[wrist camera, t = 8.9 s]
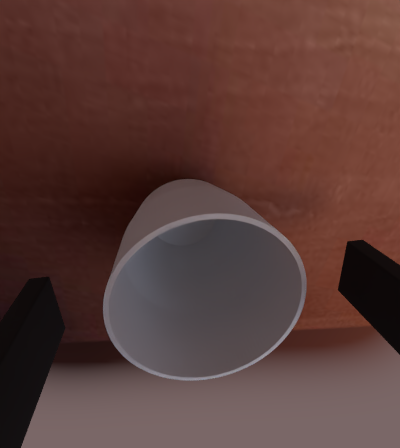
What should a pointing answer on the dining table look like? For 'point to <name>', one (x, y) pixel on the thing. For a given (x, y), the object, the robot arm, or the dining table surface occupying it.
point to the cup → (201, 284)
